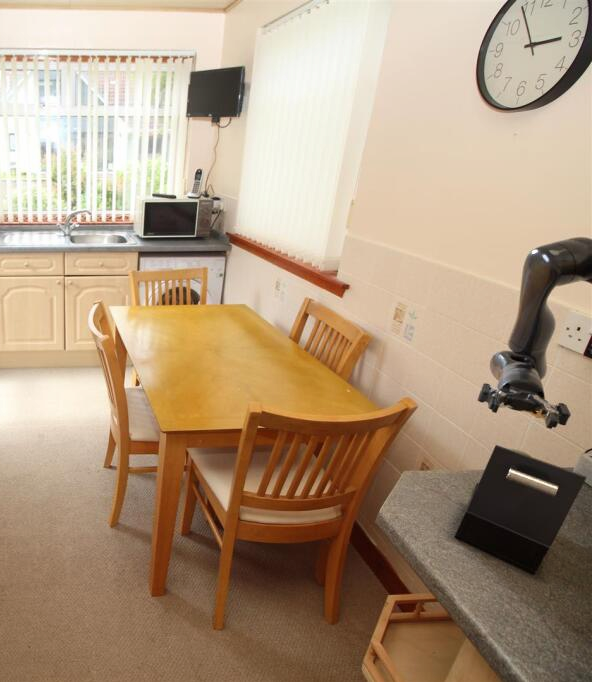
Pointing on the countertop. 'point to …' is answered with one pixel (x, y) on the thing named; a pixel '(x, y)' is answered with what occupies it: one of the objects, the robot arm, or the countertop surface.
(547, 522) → the warmer lid
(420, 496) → the countertop surface
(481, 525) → the box
